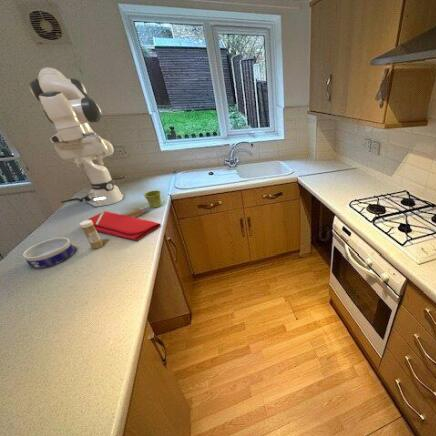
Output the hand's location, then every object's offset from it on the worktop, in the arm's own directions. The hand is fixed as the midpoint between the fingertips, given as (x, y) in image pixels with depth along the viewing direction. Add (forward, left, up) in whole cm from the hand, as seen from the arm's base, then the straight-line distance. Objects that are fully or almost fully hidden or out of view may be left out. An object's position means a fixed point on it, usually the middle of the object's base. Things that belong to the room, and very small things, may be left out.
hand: (92, 166), depth 107 cm
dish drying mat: (-5, +4, -36) cm, 36 cm away
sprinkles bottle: (+1, -12, -36) cm, 38 cm away
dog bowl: (-9, -26, -36) cm, 45 cm away
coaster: (-13, +18, -35) cm, 41 cm away
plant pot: (-10, +30, -36) cm, 48 cm away
